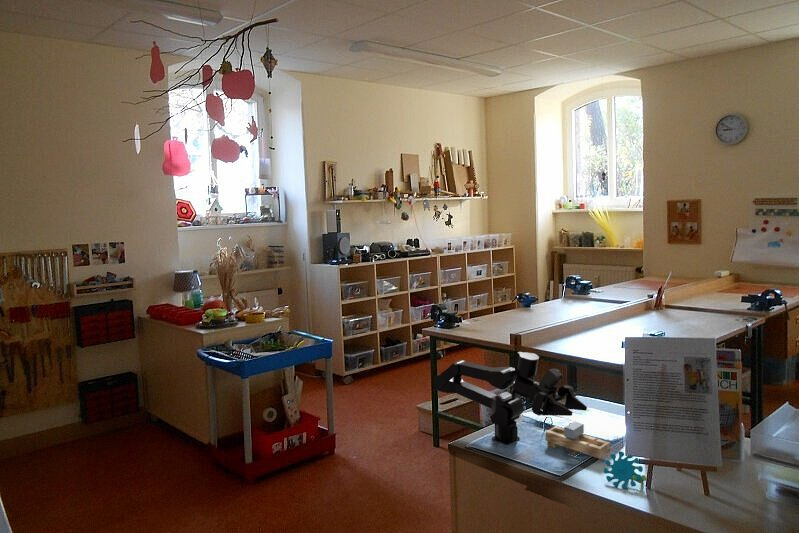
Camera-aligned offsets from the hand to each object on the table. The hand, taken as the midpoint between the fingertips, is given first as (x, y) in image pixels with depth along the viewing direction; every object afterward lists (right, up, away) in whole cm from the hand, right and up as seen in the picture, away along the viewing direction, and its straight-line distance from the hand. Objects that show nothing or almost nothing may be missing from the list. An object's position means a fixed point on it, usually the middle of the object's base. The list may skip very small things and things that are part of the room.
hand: (579, 411), depth 171 cm
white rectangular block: (+1, -11, +9) cm, 14 cm away
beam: (+2, -14, +9) cm, 17 cm away
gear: (+9, -17, -10) cm, 22 cm away
